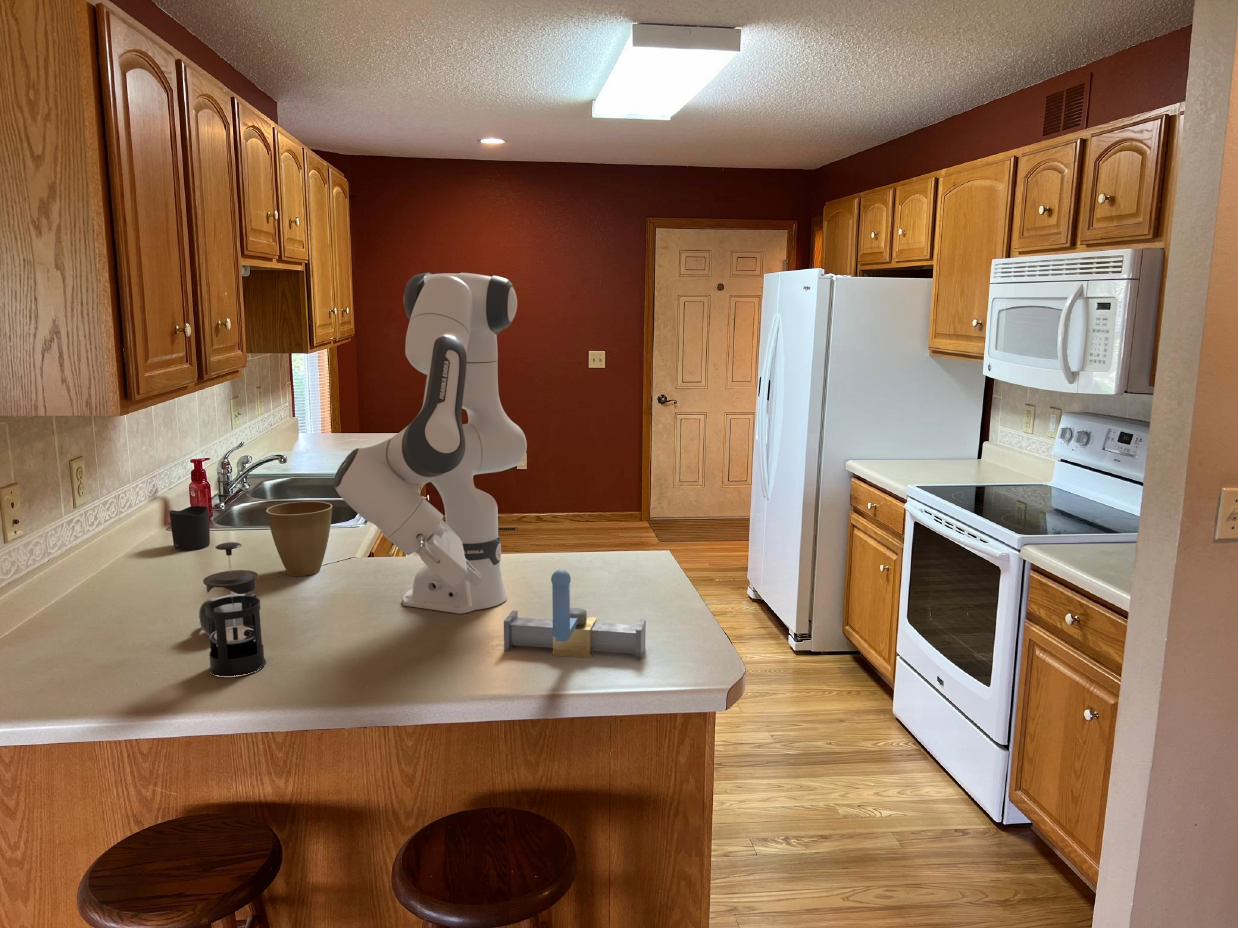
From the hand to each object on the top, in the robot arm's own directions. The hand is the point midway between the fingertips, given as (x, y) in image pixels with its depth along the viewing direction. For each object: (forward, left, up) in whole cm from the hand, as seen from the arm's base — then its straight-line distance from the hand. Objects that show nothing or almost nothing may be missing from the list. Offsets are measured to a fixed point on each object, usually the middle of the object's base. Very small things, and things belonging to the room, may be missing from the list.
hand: (478, 581), depth 154 cm
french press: (-45, -2, -18) cm, 49 cm away
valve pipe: (+13, +16, -18) cm, 28 cm away
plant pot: (-62, +52, -18) cm, 83 cm away
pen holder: (-102, +67, -18) cm, 124 cm away
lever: (+13, +11, -12) cm, 21 cm away
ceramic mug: (-58, +14, -18) cm, 63 cm away
